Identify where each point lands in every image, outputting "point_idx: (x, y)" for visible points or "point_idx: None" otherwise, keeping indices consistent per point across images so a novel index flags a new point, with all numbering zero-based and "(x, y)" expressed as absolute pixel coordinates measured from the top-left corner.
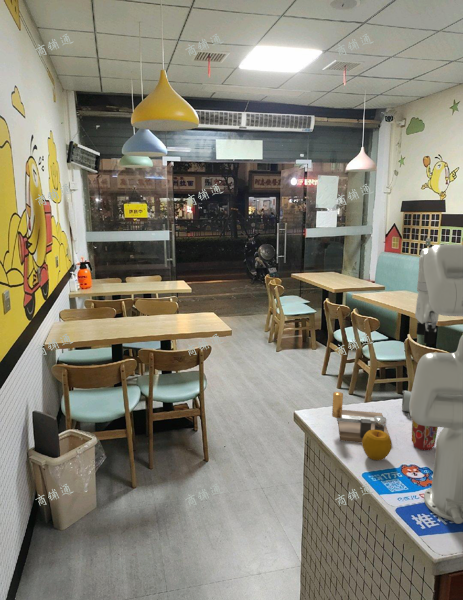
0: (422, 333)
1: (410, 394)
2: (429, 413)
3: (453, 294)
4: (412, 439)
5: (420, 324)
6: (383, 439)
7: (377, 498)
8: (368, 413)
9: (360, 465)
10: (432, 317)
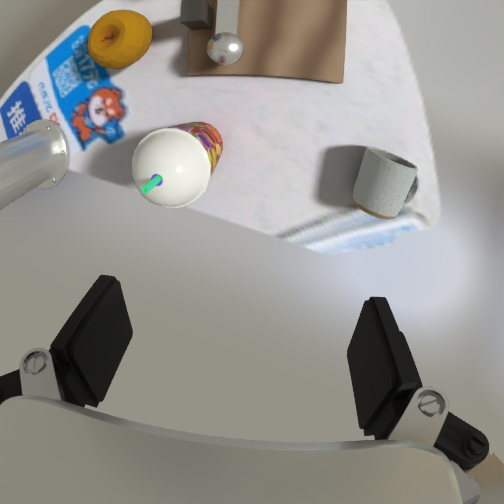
0: (357, 337)
1: (386, 176)
2: None
3: None
4: (192, 122)
5: (382, 391)
6: (90, 50)
7: (38, 56)
8: (335, 47)
9: None
10: None
